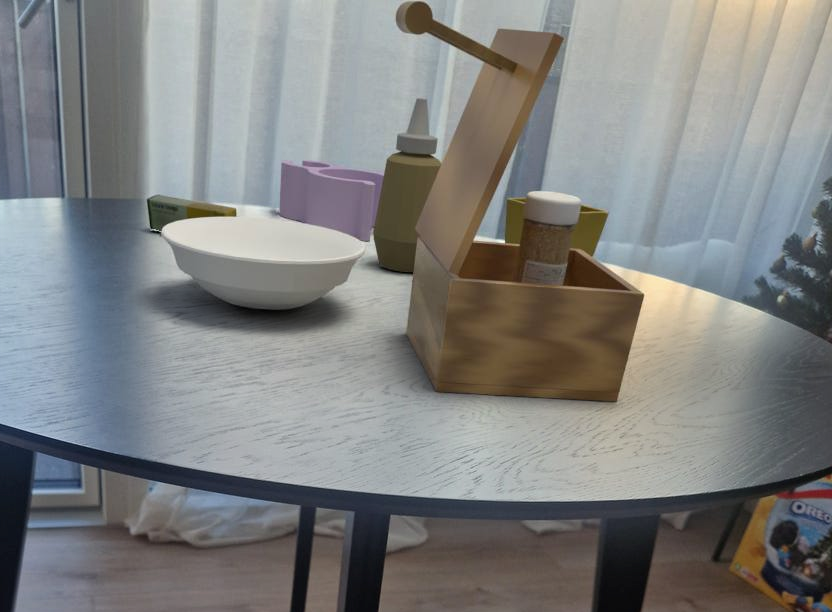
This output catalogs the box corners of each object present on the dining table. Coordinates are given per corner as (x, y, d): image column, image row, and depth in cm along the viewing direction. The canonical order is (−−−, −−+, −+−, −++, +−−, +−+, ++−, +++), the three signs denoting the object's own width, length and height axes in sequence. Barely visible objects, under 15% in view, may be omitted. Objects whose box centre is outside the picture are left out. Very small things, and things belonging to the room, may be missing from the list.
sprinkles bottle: (502, 346, 85) (531, 187, 78) (551, 355, 84) (585, 195, 77) (493, 359, 82) (523, 193, 74) (544, 369, 81) (579, 201, 73)
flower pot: (541, 273, 118) (556, 196, 113) (592, 290, 112) (611, 210, 107) (491, 277, 113) (505, 197, 108) (543, 295, 108) (559, 212, 103)
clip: (258, 213, 134) (260, 160, 131) (322, 209, 142) (325, 159, 138) (352, 242, 123) (357, 185, 119) (416, 236, 131) (422, 182, 127)
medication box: (148, 231, 117) (144, 197, 115) (161, 227, 119) (157, 193, 117) (227, 246, 113) (225, 211, 111) (239, 241, 115) (238, 206, 112)
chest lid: (506, 32, 76) (399, -25, 73) (564, 37, 62) (435, -32, 60) (422, 232, 84) (322, 188, 81) (457, 275, 71) (339, 224, 68)
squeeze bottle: (381, 257, 117) (398, 93, 107) (442, 267, 115) (465, 102, 105) (360, 268, 111) (376, 95, 101) (425, 279, 109) (447, 104, 99)
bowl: (318, 279, 104) (322, 218, 101) (391, 331, 89) (399, 261, 86) (142, 279, 97) (140, 213, 93) (190, 335, 82) (190, 260, 79)
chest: (560, 343, 91) (581, 248, 86) (617, 402, 78) (645, 294, 73) (405, 333, 89) (417, 235, 84) (435, 391, 76) (452, 279, 71)
